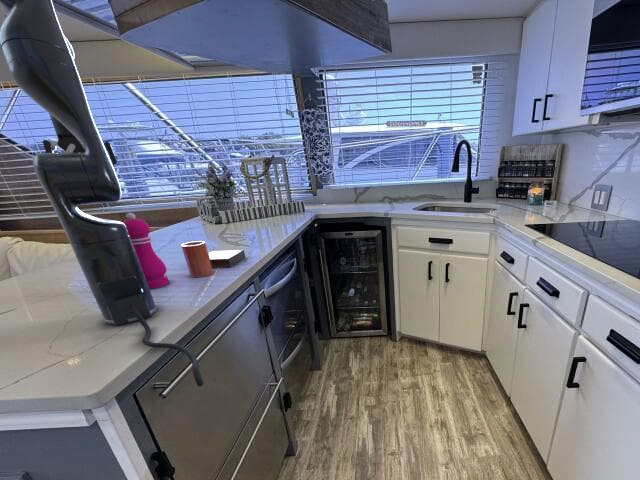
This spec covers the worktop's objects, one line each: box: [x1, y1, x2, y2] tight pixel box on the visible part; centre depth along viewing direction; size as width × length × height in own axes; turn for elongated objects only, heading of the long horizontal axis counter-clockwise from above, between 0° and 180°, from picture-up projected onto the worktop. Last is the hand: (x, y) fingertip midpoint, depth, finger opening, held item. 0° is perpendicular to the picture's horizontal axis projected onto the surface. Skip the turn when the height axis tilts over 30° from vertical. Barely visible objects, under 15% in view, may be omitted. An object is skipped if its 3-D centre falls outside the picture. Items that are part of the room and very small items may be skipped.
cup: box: [180, 240, 214, 278], centre depth 97 cm, size 6×6×10 cm
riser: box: [208, 249, 246, 269], centre depth 108 cm, size 11×11×3 cm
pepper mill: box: [122, 212, 170, 290], centre depth 87 cm, size 7×7×20 cm
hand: (91, 181), depth 92 cm, fingers open, 8 cm apart
